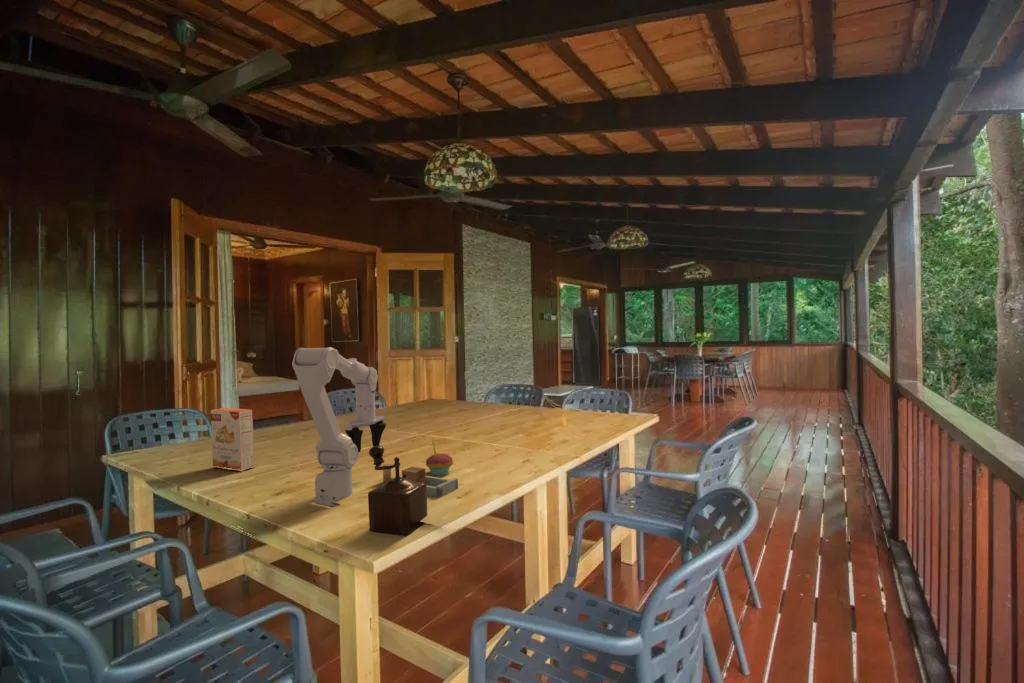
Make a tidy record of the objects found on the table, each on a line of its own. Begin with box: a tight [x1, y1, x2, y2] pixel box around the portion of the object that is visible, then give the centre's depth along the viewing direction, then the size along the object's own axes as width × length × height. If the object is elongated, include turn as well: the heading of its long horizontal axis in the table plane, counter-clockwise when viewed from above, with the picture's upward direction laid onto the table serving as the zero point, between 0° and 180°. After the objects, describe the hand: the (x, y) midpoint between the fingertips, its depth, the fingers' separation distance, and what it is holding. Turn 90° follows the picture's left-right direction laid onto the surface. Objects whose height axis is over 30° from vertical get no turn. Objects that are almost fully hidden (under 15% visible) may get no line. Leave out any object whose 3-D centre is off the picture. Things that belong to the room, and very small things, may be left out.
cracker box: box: [210, 407, 255, 470], centre depth 174 cm, size 14×6×21 cm, turn 67°
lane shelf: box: [426, 475, 459, 498], centre depth 143 cm, size 12×18×4 cm, turn 60°
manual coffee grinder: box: [367, 444, 428, 537], centre depth 120 cm, size 16×11×18 cm
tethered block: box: [382, 463, 427, 484], centre depth 147 cm, size 4×14×5 cm, turn 60°
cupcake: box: [425, 439, 454, 476], centre depth 159 cm, size 9×8×12 cm
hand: (366, 449), depth 154 cm, fingers open, 7 cm apart
